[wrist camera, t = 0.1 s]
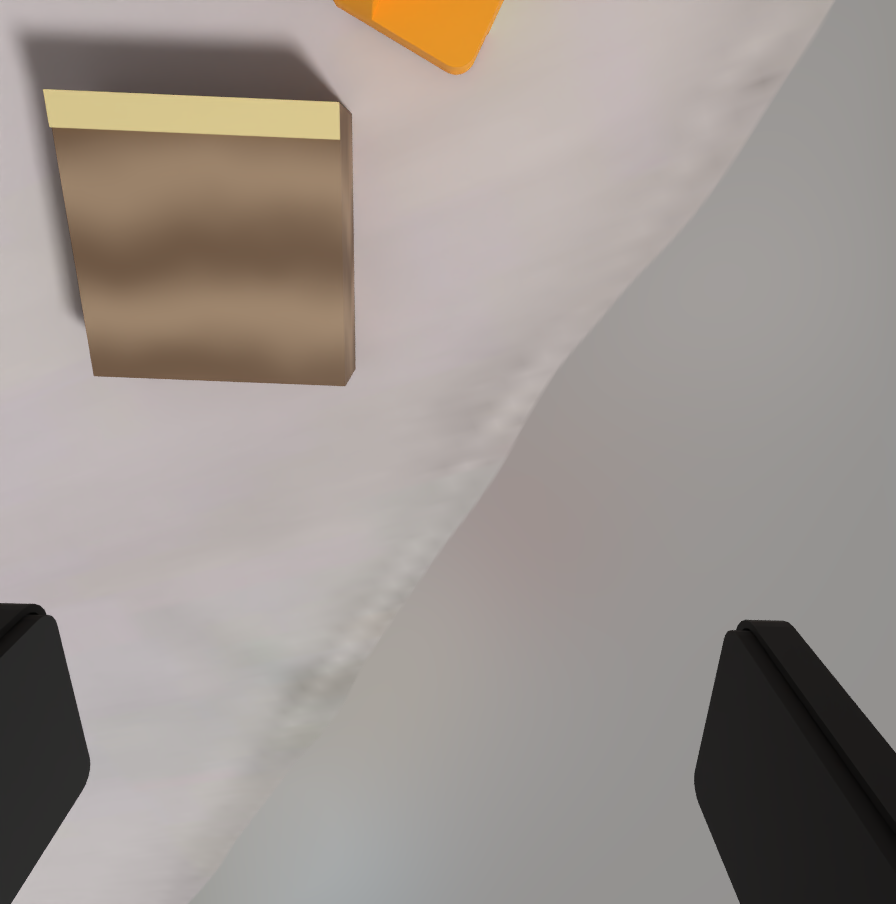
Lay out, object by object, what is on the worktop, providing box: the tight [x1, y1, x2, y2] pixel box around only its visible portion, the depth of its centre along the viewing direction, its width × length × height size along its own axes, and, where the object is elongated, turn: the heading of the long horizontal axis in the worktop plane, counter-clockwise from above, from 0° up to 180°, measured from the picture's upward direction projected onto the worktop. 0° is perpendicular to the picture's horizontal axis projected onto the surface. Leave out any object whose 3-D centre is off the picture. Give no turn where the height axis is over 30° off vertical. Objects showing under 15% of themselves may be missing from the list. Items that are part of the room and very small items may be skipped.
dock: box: [43, 89, 355, 386], centre depth 34 cm, size 14×14×4 cm
